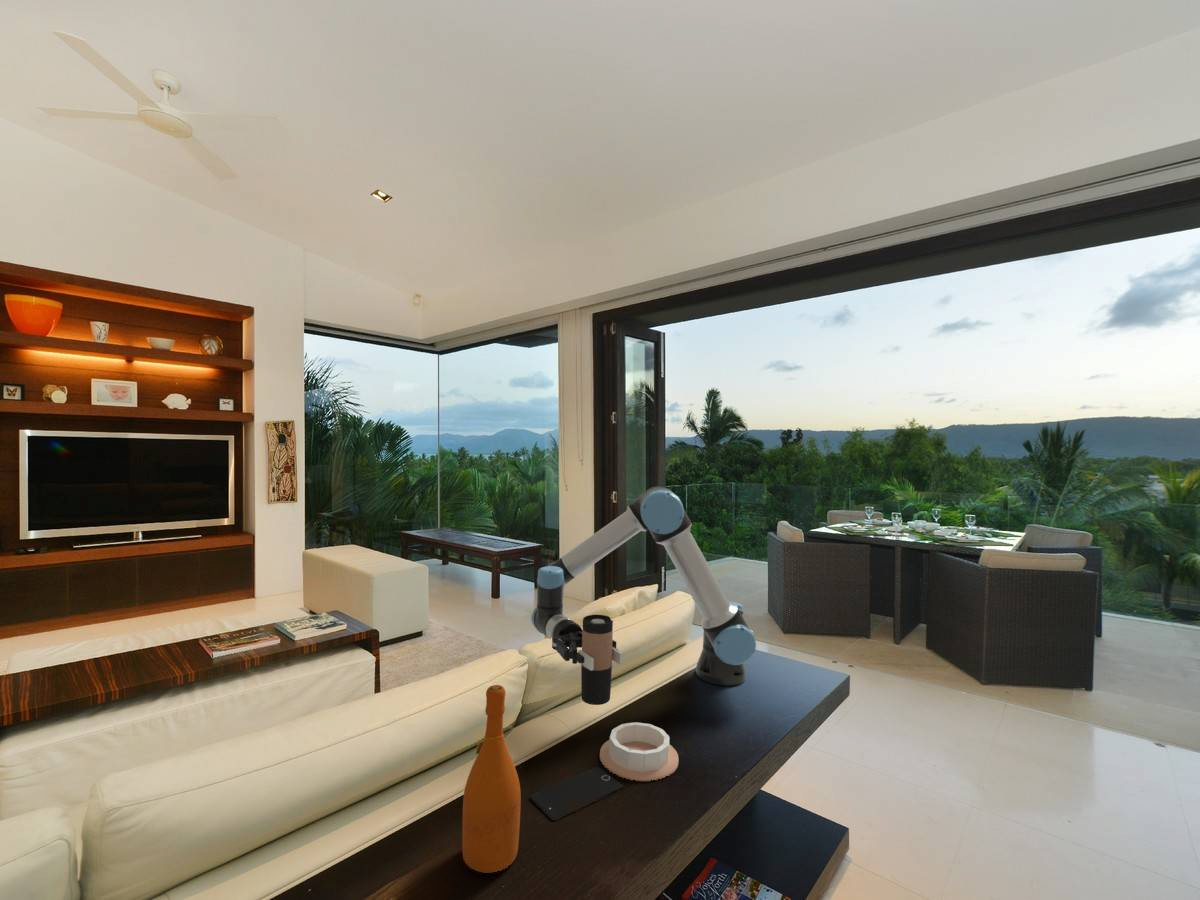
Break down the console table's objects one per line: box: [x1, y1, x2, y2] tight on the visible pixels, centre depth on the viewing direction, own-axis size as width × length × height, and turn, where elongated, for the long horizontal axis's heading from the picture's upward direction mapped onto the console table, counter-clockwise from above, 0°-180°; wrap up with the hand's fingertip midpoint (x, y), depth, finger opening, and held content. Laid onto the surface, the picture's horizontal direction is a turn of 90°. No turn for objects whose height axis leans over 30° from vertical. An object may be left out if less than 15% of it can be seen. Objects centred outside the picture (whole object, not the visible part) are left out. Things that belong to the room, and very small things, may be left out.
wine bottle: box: [461, 684, 522, 874], centre depth 101 cm, size 10×10×30 cm
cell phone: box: [529, 766, 624, 819], centre depth 120 cm, size 9×18×1 cm, turn 129°
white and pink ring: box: [599, 721, 680, 782], centre depth 134 cm, size 18×18×5 cm
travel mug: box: [580, 614, 614, 706], centre depth 145 cm, size 8×8×20 cm
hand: (606, 661), depth 141 cm, fingers closed on travel mug, 7 cm apart
